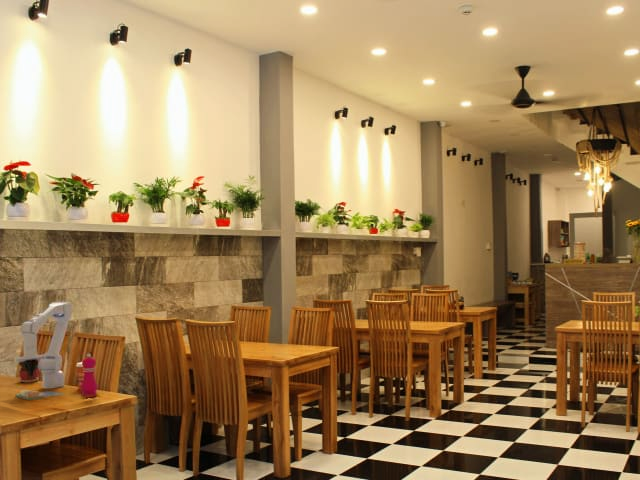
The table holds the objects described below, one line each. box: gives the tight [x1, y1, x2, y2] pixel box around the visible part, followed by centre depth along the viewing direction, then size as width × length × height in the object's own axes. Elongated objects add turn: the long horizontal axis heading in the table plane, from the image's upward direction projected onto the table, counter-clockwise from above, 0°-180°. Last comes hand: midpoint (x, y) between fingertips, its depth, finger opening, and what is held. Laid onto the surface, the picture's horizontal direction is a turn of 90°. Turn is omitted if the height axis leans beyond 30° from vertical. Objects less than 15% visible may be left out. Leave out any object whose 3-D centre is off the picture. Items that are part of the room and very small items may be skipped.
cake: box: [18, 359, 40, 383], centre depth 369 cm, size 11×9×18 cm
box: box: [15, 393, 46, 401], centre depth 316 cm, size 7×14×2 cm, turn 47°
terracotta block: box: [28, 390, 40, 397], centre depth 314 cm, size 4×4×3 cm
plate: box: [39, 390, 64, 398], centre depth 322 cm, size 10×14×2 cm
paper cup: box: [76, 361, 84, 391], centre depth 334 cm, size 8×8×14 cm
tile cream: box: [19, 389, 32, 397], centre depth 317 cm, size 4×4×3 cm
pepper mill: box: [80, 353, 99, 400], centre depth 319 cm, size 7×7×20 cm
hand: (30, 376), depth 326 cm, fingers closed
